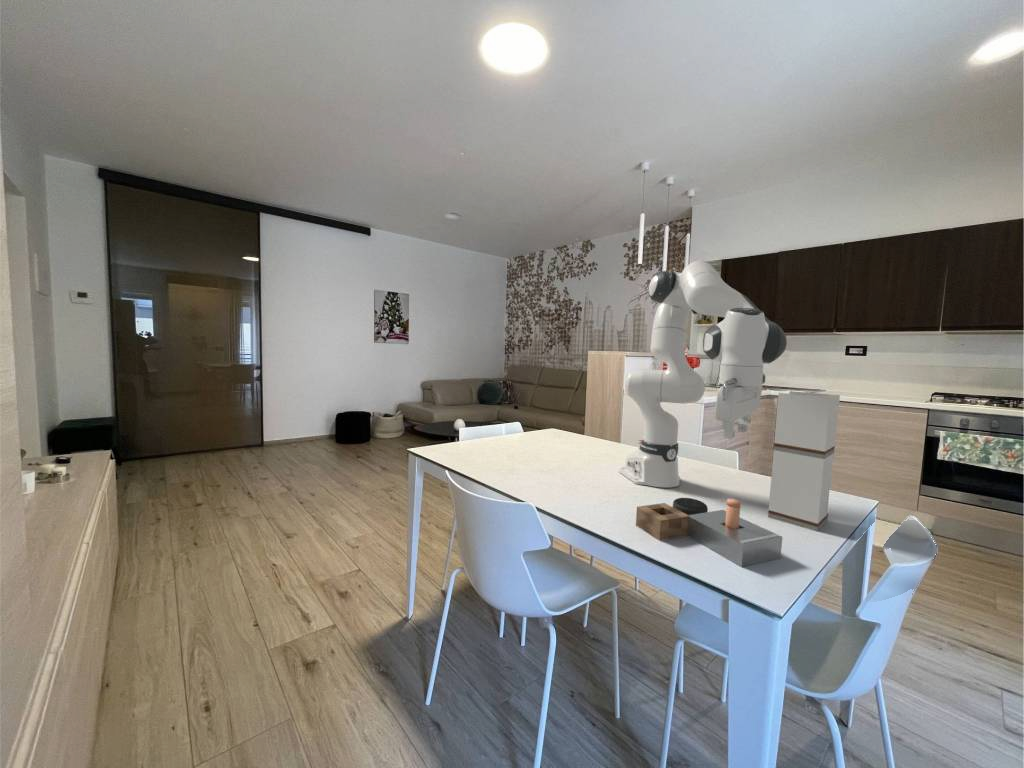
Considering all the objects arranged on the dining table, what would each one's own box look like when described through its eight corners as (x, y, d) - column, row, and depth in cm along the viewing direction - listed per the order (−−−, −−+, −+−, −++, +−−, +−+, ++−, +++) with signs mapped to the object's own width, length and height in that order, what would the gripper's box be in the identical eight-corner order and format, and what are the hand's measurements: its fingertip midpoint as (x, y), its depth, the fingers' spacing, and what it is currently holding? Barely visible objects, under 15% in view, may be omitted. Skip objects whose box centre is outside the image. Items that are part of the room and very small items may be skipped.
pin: (721, 545, 98) (725, 500, 97) (725, 541, 100) (729, 497, 99) (734, 549, 96) (738, 504, 95) (738, 545, 98) (742, 501, 97)
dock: (685, 534, 103) (686, 514, 103) (721, 528, 108) (723, 509, 107) (741, 567, 89) (743, 543, 88) (780, 558, 93) (782, 535, 92)
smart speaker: (689, 508, 121) (690, 495, 121) (714, 520, 113) (715, 506, 113) (665, 512, 118) (666, 498, 118) (689, 525, 110) (690, 510, 109)
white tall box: (827, 520, 115) (839, 395, 111) (817, 531, 108) (830, 397, 104) (780, 508, 123) (790, 391, 120) (767, 517, 116) (778, 393, 113)
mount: (635, 525, 108) (636, 506, 108) (663, 520, 112) (664, 502, 111) (659, 540, 100) (660, 520, 100) (688, 535, 103) (689, 516, 103)
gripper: (740, 381, 88) (735, 445, 90) (767, 375, 102) (763, 430, 104) (709, 379, 93) (705, 439, 94) (740, 373, 107) (735, 426, 108)
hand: (735, 434), depth 99 cm, fingers open, 8 cm apart
